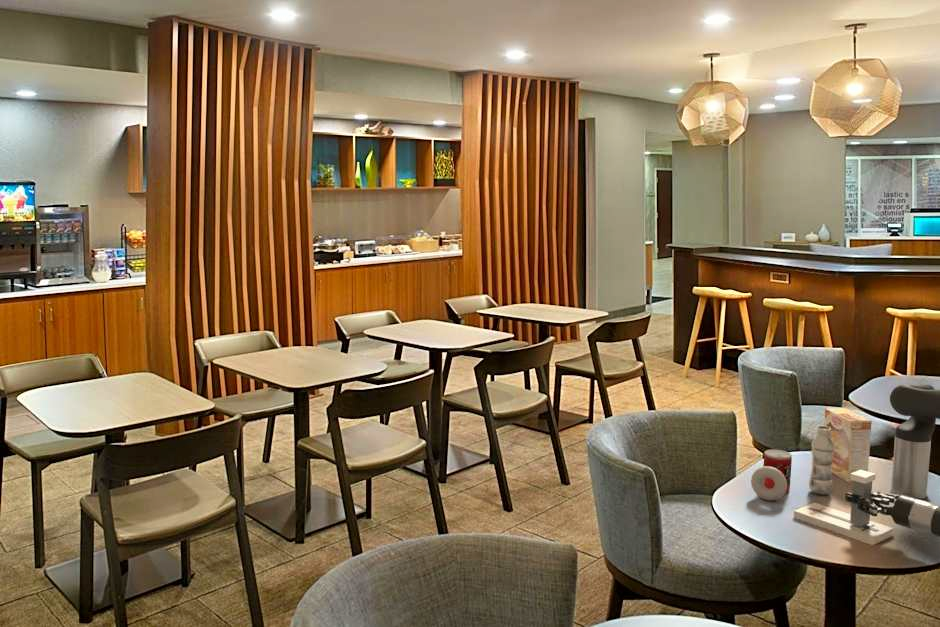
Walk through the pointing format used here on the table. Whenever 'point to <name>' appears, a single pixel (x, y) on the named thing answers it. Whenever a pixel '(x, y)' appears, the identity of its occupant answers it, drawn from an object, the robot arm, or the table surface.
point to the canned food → (778, 465)
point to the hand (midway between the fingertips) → (851, 494)
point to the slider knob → (864, 489)
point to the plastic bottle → (822, 461)
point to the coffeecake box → (848, 441)
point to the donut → (772, 474)
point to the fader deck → (843, 523)
